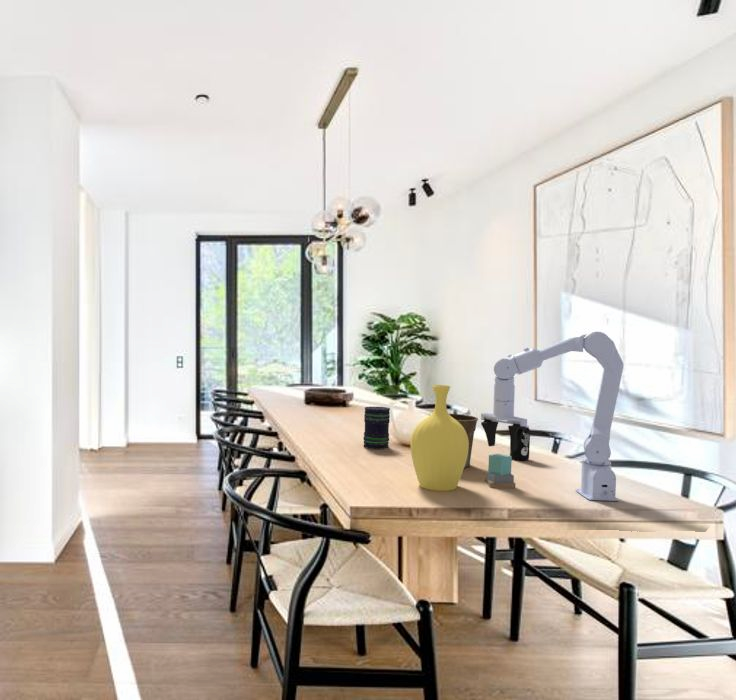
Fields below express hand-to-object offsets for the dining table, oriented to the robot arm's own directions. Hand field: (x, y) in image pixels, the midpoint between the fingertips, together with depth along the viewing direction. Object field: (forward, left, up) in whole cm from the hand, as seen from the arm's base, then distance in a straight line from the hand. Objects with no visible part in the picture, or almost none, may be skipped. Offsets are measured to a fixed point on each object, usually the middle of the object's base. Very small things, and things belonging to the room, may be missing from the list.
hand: (502, 448), depth 151 cm
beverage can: (+37, -15, -11) cm, 41 cm away
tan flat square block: (0, +1, -11) cm, 11 cm away
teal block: (0, +1, -7) cm, 7 cm away
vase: (-4, +19, -11) cm, 22 cm away
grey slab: (0, +1, -9) cm, 9 cm away
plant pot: (+24, +11, -11) cm, 28 cm away
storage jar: (+51, +36, -11) cm, 63 cm away
